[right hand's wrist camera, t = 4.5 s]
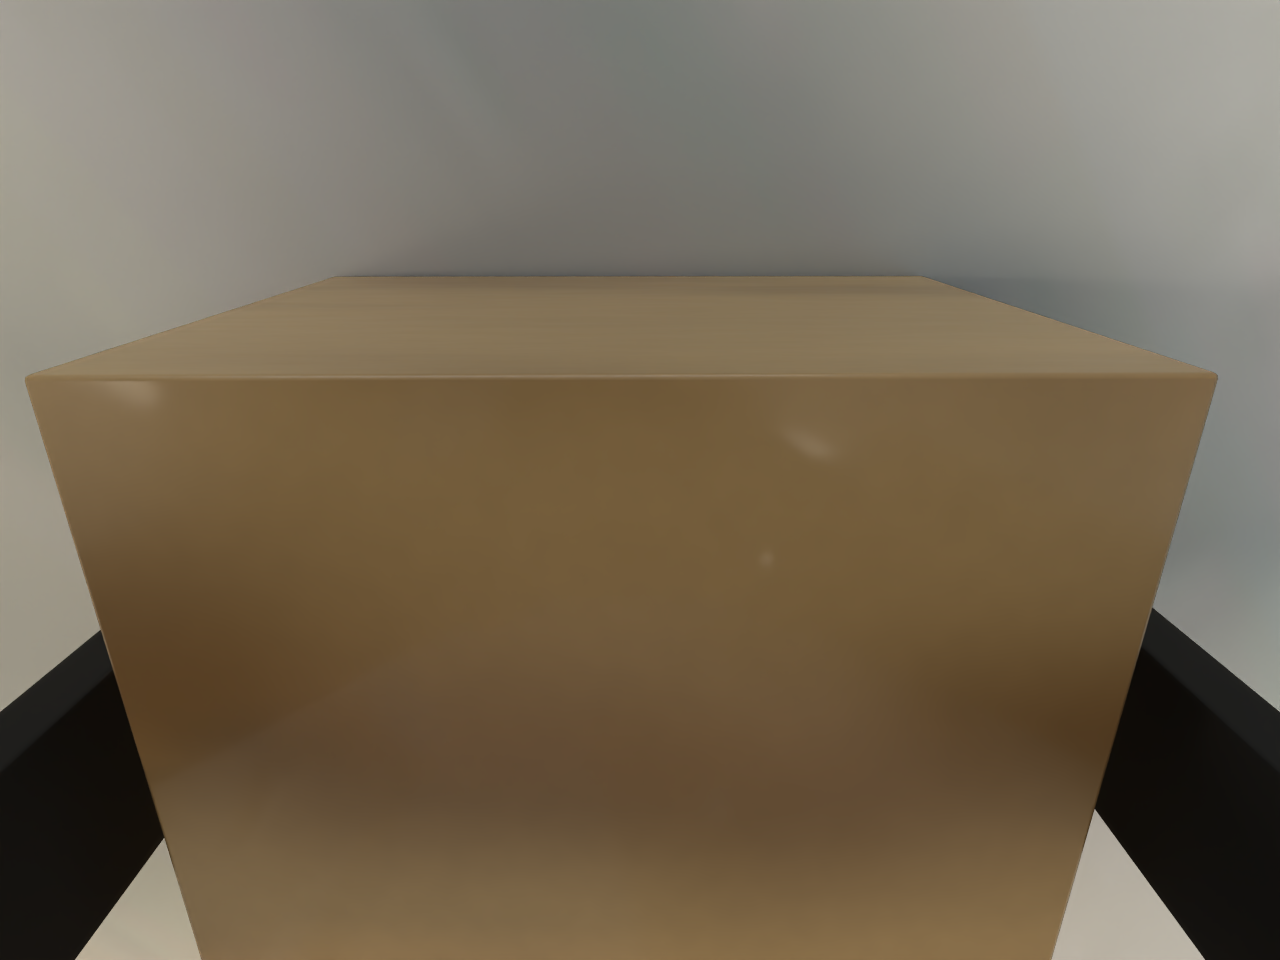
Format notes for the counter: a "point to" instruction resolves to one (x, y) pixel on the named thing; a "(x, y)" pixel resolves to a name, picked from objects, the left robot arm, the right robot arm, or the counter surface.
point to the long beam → (624, 610)
